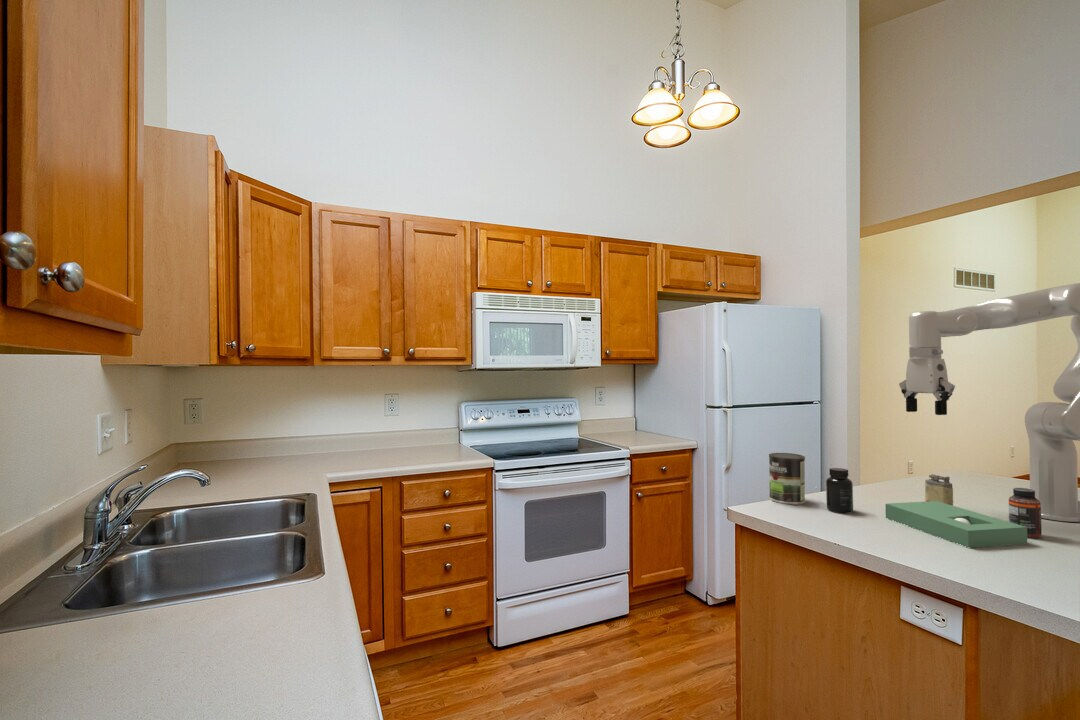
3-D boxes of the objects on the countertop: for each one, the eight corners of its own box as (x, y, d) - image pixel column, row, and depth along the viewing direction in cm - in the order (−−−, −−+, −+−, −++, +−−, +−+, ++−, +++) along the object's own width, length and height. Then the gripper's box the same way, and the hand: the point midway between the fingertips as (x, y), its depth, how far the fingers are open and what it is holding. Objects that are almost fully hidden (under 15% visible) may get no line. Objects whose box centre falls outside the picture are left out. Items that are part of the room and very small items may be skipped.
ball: (962, 534, 132) (958, 518, 133) (978, 534, 128) (973, 517, 129) (949, 534, 131) (945, 518, 132) (964, 534, 127) (960, 517, 129)
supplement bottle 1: (853, 509, 154) (853, 468, 154) (853, 515, 148) (852, 472, 148) (827, 506, 158) (826, 466, 158) (825, 511, 152) (824, 470, 152)
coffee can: (788, 506, 158) (788, 459, 158) (762, 498, 167) (761, 454, 167) (813, 502, 162) (812, 456, 162) (785, 494, 171) (785, 451, 171)
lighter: (922, 507, 156) (921, 473, 156) (930, 505, 157) (929, 472, 157) (949, 513, 149) (948, 478, 149) (956, 511, 151) (956, 477, 151)
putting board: (936, 515, 147) (936, 500, 147) (1027, 544, 124) (1027, 527, 124) (885, 518, 145) (885, 503, 145) (968, 548, 121) (968, 530, 121)
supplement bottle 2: (1033, 532, 132) (1032, 487, 132) (1047, 539, 126) (1046, 492, 126) (1004, 530, 134) (1003, 485, 134) (1016, 537, 128) (1015, 491, 128)
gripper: (964, 353, 144) (965, 415, 144) (911, 354, 161) (912, 410, 161) (940, 353, 143) (941, 416, 143) (889, 354, 160) (890, 410, 160)
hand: (925, 413), depth 152 cm, fingers open, 9 cm apart
